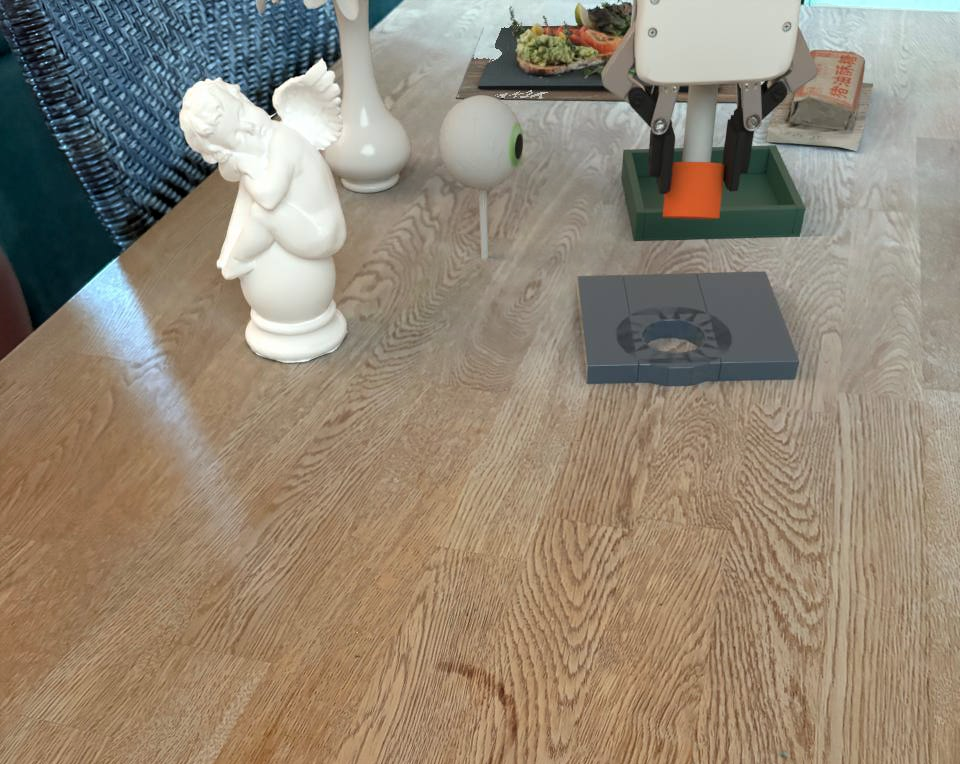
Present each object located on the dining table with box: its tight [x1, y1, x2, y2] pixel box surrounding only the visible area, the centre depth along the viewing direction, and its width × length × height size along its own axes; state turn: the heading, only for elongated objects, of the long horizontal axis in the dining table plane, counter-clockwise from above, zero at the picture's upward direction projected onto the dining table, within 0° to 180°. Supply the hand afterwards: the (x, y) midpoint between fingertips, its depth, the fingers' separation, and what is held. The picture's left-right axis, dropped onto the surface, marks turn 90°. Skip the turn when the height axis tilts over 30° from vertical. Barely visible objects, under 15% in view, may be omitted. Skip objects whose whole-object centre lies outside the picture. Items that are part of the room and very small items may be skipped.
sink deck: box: [576, 270, 800, 387], centre depth 83 cm, size 16×15×3 cm
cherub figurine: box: [178, 57, 349, 364], centre depth 80 cm, size 12×12×22 cm
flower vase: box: [254, 0, 413, 194], centre depth 99 cm, size 13×18×25 cm
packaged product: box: [766, 49, 874, 152], centre depth 114 cm, size 18×5×10 cm
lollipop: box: [438, 95, 524, 260], centre depth 89 cm, size 7×7×15 cm
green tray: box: [620, 144, 807, 242], centre depth 101 cm, size 16×15×3 cm
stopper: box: [663, 84, 725, 219], centre depth 72 cm, size 4×4×9 cm
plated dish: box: [455, 0, 737, 103], centre depth 129 cm, size 35×28×7 cm
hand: (695, 181), depth 72 cm, fingers closed on stopper, 4 cm apart
